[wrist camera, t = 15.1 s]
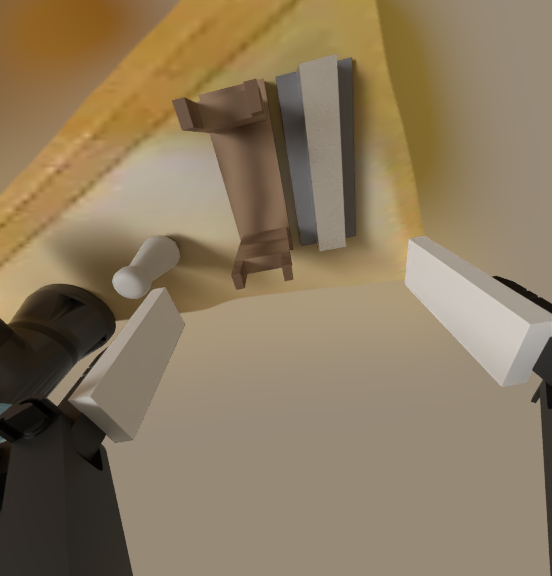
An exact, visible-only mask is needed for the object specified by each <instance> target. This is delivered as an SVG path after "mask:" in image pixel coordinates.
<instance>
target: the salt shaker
mask: <svg viewBox="0 0 552 576" xmlns="http://www.w3.org/2000/svg"><path fill="white" fill-rule="evenodd" d="M179 259H180V252H179V249H178V247H177V244H176V241H174V240H172V239H170V238H168V237H166V236H152V237H150V238H149V239H147V240H146V241H144V243H143V245H142V246H141V248H140V249H139V251H138V252H137V254H136V256H135V257H134V259H133V260H132V262H131V263H130V265H129V266H125V267H123V268H122V269H120V270H119V271H117V272H116V273H115V275H114V277H113V280H112V283H113V286H114V288H115V290H116V291H117V292H118V293H119V294H120V295H122V296H124V297H126V298H130V299H140V298H141V297H143V296H144V295H146V294H147V293H148V292H149V290H150V288H151V285H152V282H153V281H154V280H156V279H157V278H159V277H160V276H162V275H163V274H165V273H166V272H167V271H169V270H170V269H172V268H173V267H175V266H176V265H177V264H178V261H179Z"/></svg>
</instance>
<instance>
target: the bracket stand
mask: <svg viewBox="0 0 552 576" xmlns="http://www.w3.org/2000/svg"><path fill="white" fill-rule="evenodd" d="M199 98H200V102H197V103H195V102H193V101H191V100H189V99H187V98H180V99H176V100H172V102H173V105H174V108H175V111H176V114H177V117H178V119H179V122H180V125H181V128H182V130H185V131H193V132H206V133H210V136H211V139H212V143H213V146H214V150H215V153H216V157H217V160H218V163H219V167H220V170H221V174H222V177H223V181H224V184H225V188H226V191H227V194H228V198H229V201H230V205H231V208H232V212H233V215H234V219H235V222H236V225H237V229H238V232H239V236H240V239H241V243H240V246H239V249H238V252H237V256H236V259H235V265H234V268H233V271H232V278H233V281H234V284H235V287H236V290H237V289H243V288H245V283H246V278H247V274H249V273H255V272H260V271H266V270H271V269H277V268H282V270H283V275H284V280H285V281H288V280H293V274H292V267H291V266H292V262H291V255H290V250H293V246H292V241H291V235H290V229H289V223H288V217H287V212H286V206H285V200H284V194H283V188H282V183H281V177H280V171H279V165H278V159H277V154H276V148H275V142H274V136H273V130H272V125H271V119H270V113H269V107H268V102H267V96H266V90H265V84H264V78H263V79H260V80H256V79H253V80H249V81H245V82H244V84H240V85H236V86H233V87H229V88H225V89H221V90H217V91H213V92H209V93H206V94H202V95H199Z"/></svg>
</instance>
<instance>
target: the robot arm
mask: <svg viewBox="0 0 552 576" xmlns="http://www.w3.org/2000/svg"><path fill="white" fill-rule="evenodd" d="M405 285H406V286H407V287H408V288H409V289H410V290H411V291H412V293H413V294H414V295H415V296H416V297H417V298H418V299H419V300H420V301H421V302H422V303H423V304H424V305H425V306H426V307H427V308H428V309H429V311H430V312H431V313H432V314H433V315H434V316H435V317H436V318H437V319H438V320H439V321H440V322H441V323H442V324H443V325H444V326H445V327H446V328H447V330H448V331H449V332H450V333H451V334H452V335H453V336H454V337H455V338H456V339H457V340H458V341H459V342H460V343H461V344H462V345H463V346H464V347H465V348H466V350H467V351H468V352H469V353H470V354H471V355H472V356H473V357H474V358H475V359H476V360H477V361H478V362H479V363H480V364H481V365H482V366H483V368H484V369H485V370H486V371H487V372H488V373H489V374H490V375H491V376H492V377H493V378H494V379H495V380H496V381H497V382H498V383H499V384H500V385H501V387H502V386H509V385H516V384H523V383H526V382H527V380H528V378H529V376H530V375H531V373H532V371H534V372H535V373H536V374H537V375H539V376H540V377H541V378H542V379H543V380H542V382H541V384H540V385H539V387H538V389H537V390H536V392H535V394H534V395H533V397H532V400H531V402H534V403H536V402H537V400H538V399H539V398H540V404H541V419H542V438H543V454H544V472H545V488H546V506H547V523H548V539H549V557H550V574H551V576H552V304H551V303H550V302H548V301H546V300H544V299H543V298H541V297H539V298H538V296H537V295H536V294H534V293H532V292H530V291H527V290H526V289H525V288H524V287H522V286H520V285H518V284H517V283H515V282H513V281H510V280H507V279H504V278H501V277H498V276H493V277H491V276H489V275H488V274H486V273H484V272H483V271H481V270H479V269H478V268H476V267H475V266H473V265H471V264H470V263H468V262H466V261H465V260H463V259H462V258H460V257H458V256H457V255H455V254H453V253H452V252H450V251H448V250H447V249H445V248H444V247H442V246H440V245H439V244H437V243H435V242H434V241H432V240H431V239H429V238H427V237H426V236H420V237H415V238H410V239H409V243H408V254H407V265H406V275H405ZM184 326H185V323H184V321H183V320H182V318H181V316H180V314H179V312H178V310H177V308H176V306H175V304H174V303H173V301H172V299H171V297H170V295H169V293H168V291H167V289H166V287H163V288H158V289H153V290H152V291H151V292H150V293H149V294H148V296H147V297H146V298H145V300H144V301H143V302H142V304H141V305H140V306H139V308H138V309H137V310H136V311H135V313H134V314H133V315H132V317H131V318H130V319H129V321H128V322H127V323H126V325H125V326H124V327H123V328H122V330H121V331H120V332H119V334H118V335H117V336H116V338H115V339H114V340H113V342H112V343H111V344H110V346H109V347H107V348H106V349H105V350H104V351H102V352H101V353H100V354H99V355H98V356H97V357H96V358H95V359H94V361H93V362H92V363H91V365H90V366H89V368H87V370H86V371H85V372H84V373H83V376H82V377H80V378H79V380H78V381H77V383H76V384H75V385H74V386H73V387H72V389H71V390H70V391H69V392H68V394H67V395H66V396H65V398H64V399H63V400H62V401H61V403H60V404H59V405H58V406H56V405H54V404H53V403H52V402H51V401H50V400H49V399H47V397H48V396H49V394H50V393H51V392H52V391H53V390H54V389H55V387H56V386H57V385H58V384H59V383H60V381H61V380H62V379H63V378H64V377H65V375H67V373H68V372H69V371H70V370H71V369H72V367H73V366H74V365H75V364H76V363H77V362H78V361H79V360H81V359H83V358H84V357H86V356H87V355H89V354H90V353H92V352H94V351H95V350H97V349H99V348H100V347H102V346H103V345H104V344H105V343H107V341H108V340H109V339H110V338H111V336H112V335H113V334H114V332H115V328H116V323H115V319H114V316H113V314H112V312H111V311H110V310H109V308H108V307H107V306H106V305H105V304H104V303H103V302H102V301H101V300H100V299H98V298H97V297H95V296H94V295H92V294H91V293H89V292H87V291H85V290H83V289H80V288H77V287H74V286H70V285H64V284H52V285H47V286H44V287H42V288H40V289H38V290H37V291H35V292H34V293H32V294H31V295H30V296H29V297H27V299H26V300H25V301H24V303H23V304H22V306H21V307H20V308H19V310H18V311H17V313H16V314H15V316H14V317H13V319H12V320H11V321H10V323H9V324H6V323H5V322H4V321H3V320H2V319H0V576H133V573H132V569H131V564H130V559H129V555H128V550H127V545H126V541H125V536H124V531H123V527H122V522H121V518H120V513H119V508H118V503H117V499H116V494H115V489H114V485H113V480H112V475H111V471H110V466H109V462H108V457H107V452H106V449H105V447H104V446H103V445H102V444H101V443H102V441H103V439H104V438H105V436H106V435H107V436H108V437H109V438H110V439H111V440H113V441H114V442H115V443H118V442H124V441H131V440H134V439H135V436H136V434H137V432H138V429H139V428H140V425H141V423H142V421H143V419H144V416H145V414H146V412H147V409H148V407H149V405H150V403H151V400H152V398H153V396H154V393H155V391H156V389H157V387H158V385H159V382H160V380H161V378H162V376H163V373H164V371H165V369H166V367H167V364H168V362H169V359H170V358H171V355H172V353H173V351H174V349H175V346H176V344H177V342H178V339H179V337H180V335H181V333H182V330H183V328H184ZM5 440H7V441H5ZM3 441H5V442H3ZM1 442H2V443H1Z"/></svg>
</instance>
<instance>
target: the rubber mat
mask: <svg viewBox="0 0 552 576" xmlns="http://www.w3.org/2000/svg"><path fill="white" fill-rule="evenodd" d="M337 71H338V92H339V113H340V134H341V156H342V177H343V198H344V219H345V238H346V237H352V236H356V221H355V176H354V132H353V87H352V57H351V58H347V59H343V60H339V61H337ZM276 82H277V88H278V95H279V102H280V108H281V115H282V121H283V128H284V135H285V141H286V148H287V154H288V161H289V168H290V174H291V181H292V187H293V194H294V201H295V207H296V214H297V220H298V227H299V234H300V240H301V246H304V245H309V244H315V243H316V237H315V229H314V220H313V211H312V203H311V194H310V185H309V177H308V168H307V160H306V151H305V142H304V134H303V125H302V116H301V108H300V99H299V91H298V82H297V73H296V72H293V73H289V74H285V75H281V76H277V77H276Z"/></svg>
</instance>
